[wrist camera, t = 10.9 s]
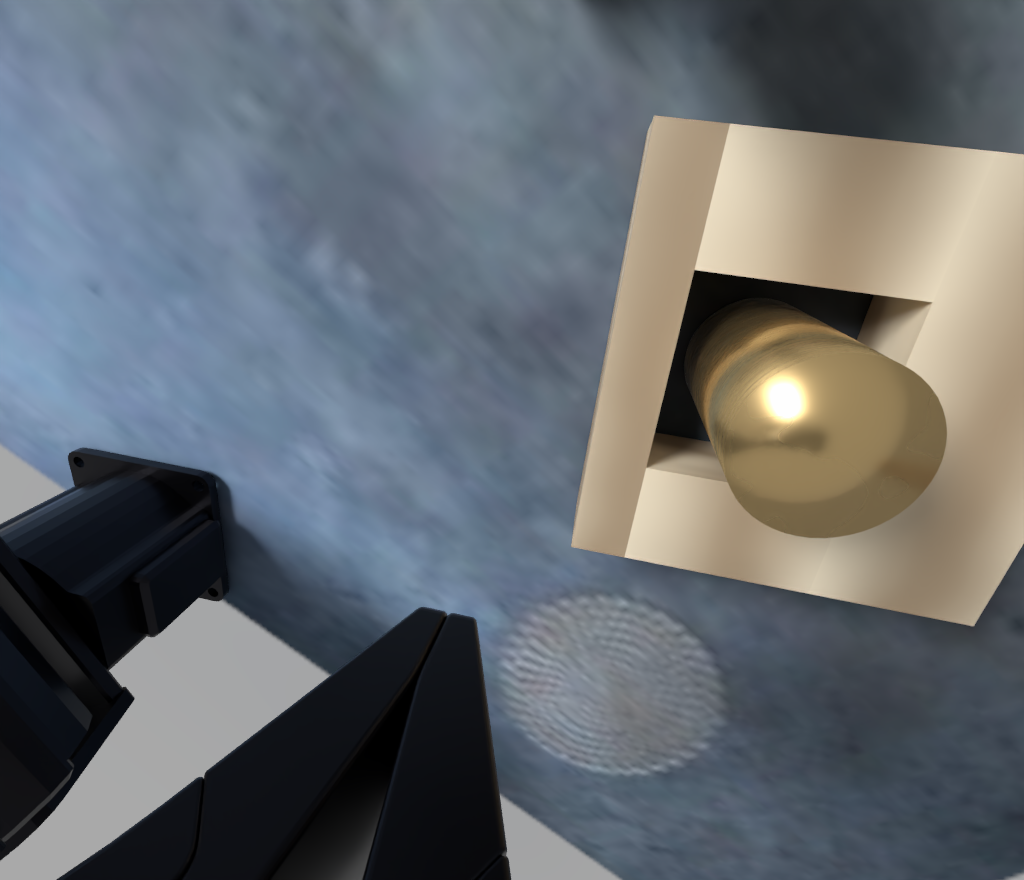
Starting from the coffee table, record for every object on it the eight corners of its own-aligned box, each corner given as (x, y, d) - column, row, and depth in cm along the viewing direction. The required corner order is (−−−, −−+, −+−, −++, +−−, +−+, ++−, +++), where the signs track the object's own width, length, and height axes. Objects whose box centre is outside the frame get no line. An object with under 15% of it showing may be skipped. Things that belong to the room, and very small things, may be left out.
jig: (576, 501, 20) (571, 547, 17) (647, 133, 15) (654, 115, 12) (921, 565, 19) (973, 626, 16) (1120, 184, 14) (1244, 178, 11)
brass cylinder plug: (670, 410, 18) (701, 518, 12) (701, 288, 16) (756, 337, 10) (794, 430, 18) (896, 554, 11) (838, 308, 16) (986, 371, 10)
